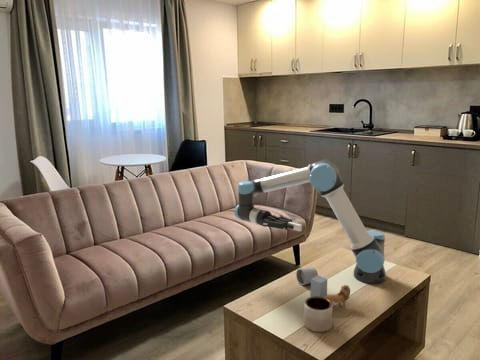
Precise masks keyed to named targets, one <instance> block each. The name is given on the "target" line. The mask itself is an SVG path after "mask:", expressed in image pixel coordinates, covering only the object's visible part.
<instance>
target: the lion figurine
mask: <svg viewBox="0 0 480 360" xmlns="http://www.w3.org/2000/svg"><path fill="white" fill-rule="evenodd" d="M350 295H351V288H350V285H348V284H347V285H346V284H344V285H342V286H341V287H340V290H339V292H338V293H337V294H331V293H330V294H327V296H326V298H327V299H329V300H330V301H331V302H332V306H333V305H334V303H335V304H337V305H338V306H339V307H340V306H342V309H347V308H346V302H347V301H348V300H349V299H350ZM341 303H342V304H341ZM333 312H335V310H334V308H332V313H333Z"/></svg>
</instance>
